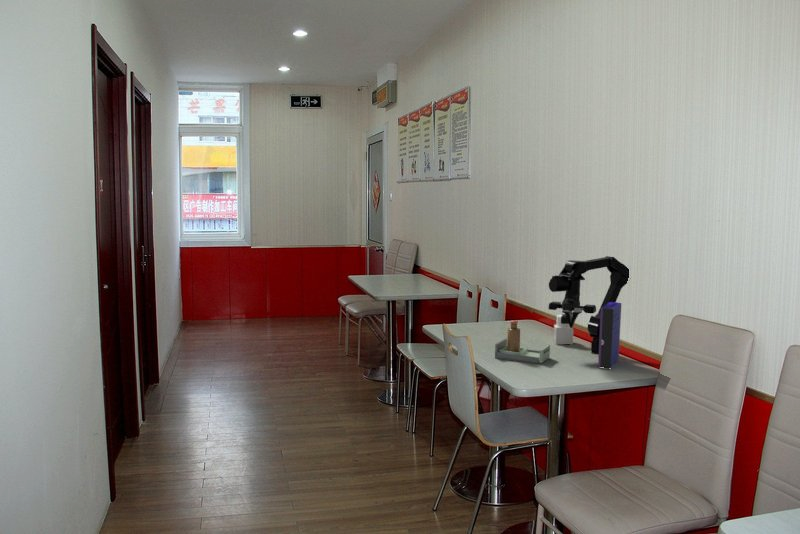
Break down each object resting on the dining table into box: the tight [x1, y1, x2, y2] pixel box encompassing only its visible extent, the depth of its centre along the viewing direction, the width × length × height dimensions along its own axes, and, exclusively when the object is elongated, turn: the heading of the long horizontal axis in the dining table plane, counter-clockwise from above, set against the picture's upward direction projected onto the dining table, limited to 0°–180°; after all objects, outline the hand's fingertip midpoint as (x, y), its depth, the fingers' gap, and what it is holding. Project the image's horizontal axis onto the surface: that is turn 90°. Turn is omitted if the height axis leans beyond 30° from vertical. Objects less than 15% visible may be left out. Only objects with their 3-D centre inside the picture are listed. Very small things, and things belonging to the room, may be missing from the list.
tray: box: [499, 344, 551, 364], centre depth 282 cm, size 19×12×5 cm, turn 62°
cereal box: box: [597, 301, 622, 369], centre depth 274 cm, size 17×5×24 cm, turn 152°
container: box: [553, 313, 574, 346], centre depth 312 cm, size 8×8×13 cm
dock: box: [494, 338, 540, 365], centre depth 283 cm, size 18×12×6 cm, turn 62°
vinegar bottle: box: [506, 319, 521, 352], centre depth 284 cm, size 5×5×13 cm
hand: (571, 327), depth 287 cm, fingers closed
